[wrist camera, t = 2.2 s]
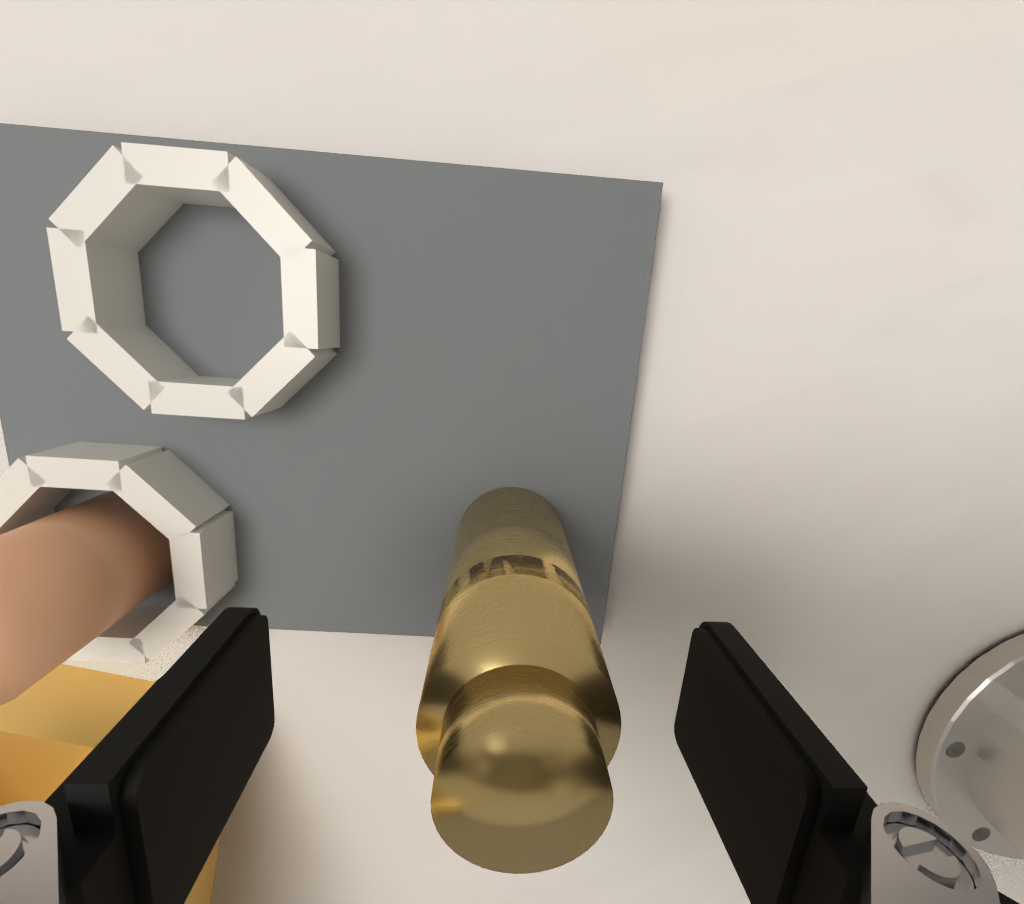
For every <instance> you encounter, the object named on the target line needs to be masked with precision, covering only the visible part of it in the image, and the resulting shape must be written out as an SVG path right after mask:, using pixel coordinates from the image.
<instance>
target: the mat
mask: <svg viewBox="0 0 1024 904" xmlns="http://www.w3.org/2000/svg"><path fill="white" fill-rule="evenodd" d="M121 142H126V143H137V144H149V145H160V146H171V147H182V148H194V149H205V150H216V151H227V152H229V153H230V154H232V155H233V156H235V157H236V156H237V157H238V158H240V159H241V160H243V161H244V162H246V163H247V164H248V165H250V166H251V167H253V168H254V169H256V170H257V171H259V172H260V173H262V174H263V175H265V176H266V177H268V178H269V179H271V180H272V181H273V183H274V184H275V185H276V186H277V187H278V188H279V189H280V190H281V192H282V193H283V194H284V195H285V196H286V197H287V198H288V199H289V200H290V202H291V203H292V204H293V205H294V206H295V207H296V208H297V209H298V211H299V212H300V213H301V214H302V215H303V216H304V217H305V218H306V219H307V221H308V222H309V223H310V224H311V225H312V226H313V227H314V228H315V230H316V231H317V232H318V233H319V234H320V235H321V236H322V237H323V239H324V240H325V241H326V242H327V243H328V244H329V245H330V246H331V247H332V249H333V250H334V251H335V253H334V254H333V255H332V256H331V257H334V258H336V259H338V260H339V310H340V347H339V348H332V349H333V350H334V351H335V352H336V353H337V355H336V356H335V357H334V358H333V359H332V360H330V361H329V362H328V363H327V364H326V365H325V366H324V367H323V368H322V369H321V370H320V371H319V372H318V373H317V374H316V375H315V376H314V377H313V378H312V379H310V380H309V381H308V382H307V383H306V384H305V385H304V386H303V387H302V388H301V389H300V390H299V391H298V392H297V393H296V394H295V395H294V396H293V397H292V398H290V399H289V400H288V401H287V402H286V403H285V404H284V405H283V406H282V407H281V408H278V409H275V410H272V411H269V412H266V413H263V414H260V415H257V416H254V417H251V418H248V419H245V420H243V419H227V418H212V417H197V416H182V415H167V414H152V412H151V409H146V410H143V409H142V408H141V407H140V406H139V405H138V404H137V403H136V402H135V401H133V400H132V399H131V398H130V397H129V396H128V395H127V394H126V393H125V392H124V391H123V390H121V389H120V388H119V387H118V386H117V385H116V384H115V383H114V382H113V381H112V380H111V379H110V378H108V377H107V376H106V375H105V374H104V373H103V372H102V371H101V370H100V369H99V368H98V367H97V366H95V365H94V364H93V363H92V362H91V361H90V360H89V359H88V358H87V357H86V356H85V355H84V354H82V353H81V352H80V351H79V350H78V349H77V348H76V347H75V346H74V345H73V344H72V343H71V342H69V341H68V340H67V338H68V337H69V336H70V335H71V334H72V333H73V332H72V331H62V326H61V320H60V313H59V307H58V300H57V294H56V287H55V281H54V274H53V268H52V261H51V255H50V248H49V242H48V235H47V229H46V227H48V228H57V227H56V226H55V225H54V224H53V223H52V222H51V221H50V220H49V218H50V216H51V215H52V214H53V213H54V212H55V211H56V210H57V208H58V207H59V206H60V205H61V204H62V203H63V202H64V200H65V199H66V198H67V197H68V196H69V195H70V194H71V192H72V191H73V190H74V189H75V188H76V187H77V185H78V184H79V183H80V182H81V181H82V180H83V179H84V177H85V176H86V175H87V174H88V173H89V172H90V171H91V169H92V168H93V167H94V166H95V165H96V164H97V163H98V161H99V160H100V159H101V158H102V157H103V156H104V155H105V153H106V152H107V151H108V150H109V149H110V148H111V146H112V145H113V146H115V147H117V148H119V149H122V148H121ZM662 187H663V183H661V182H650V181H639V180H628V179H616V178H605V177H594V176H583V175H572V174H561V173H549V172H538V171H527V170H516V169H505V168H494V167H483V166H471V165H460V164H449V163H438V162H427V161H416V160H404V159H393V158H382V157H371V156H360V155H349V154H338V153H326V152H315V151H304V150H293V149H282V148H271V147H260V146H248V145H237V144H226V143H215V142H204V141H193V140H181V139H170V138H159V137H148V136H137V135H126V134H115V133H103V132H92V131H81V130H70V129H59V128H48V127H36V126H25V125H14V124H3V123H0V419H1V424H2V430H3V435H4V440H5V445H6V450H7V456H8V461H9V466H11V465H12V464H13V463H14V462H15V461H16V460H17V459H18V458H20V457H24V456H26V455H29V454H33V453H37V452H41V451H45V450H49V449H53V448H57V447H61V446H64V445H68V444H72V443H76V442H80V441H84V442H99V443H115V444H131V445H147V446H162V449H163V451H166V450H170V451H171V452H172V453H174V454H175V455H176V456H177V457H178V458H179V459H180V460H181V461H182V462H183V463H185V464H186V465H187V466H188V467H189V468H190V469H191V470H192V471H193V472H194V473H195V474H197V475H198V476H199V477H200V478H201V479H202V480H203V481H204V482H205V483H206V484H207V485H209V486H210V487H211V488H212V489H213V490H214V491H215V492H216V493H217V494H218V495H220V496H221V497H222V498H223V499H224V500H225V501H226V502H227V503H228V504H229V506H228V507H227V508H226V509H225V511H233V518H234V531H235V544H236V558H237V571H238V580H237V581H236V582H235V584H236V585H235V586H234V587H233V588H232V589H231V590H230V591H229V592H228V593H227V594H226V595H225V596H224V597H222V598H221V599H220V600H219V601H218V602H217V603H216V604H215V605H214V606H213V607H212V608H211V609H210V610H209V611H208V612H207V613H206V614H205V615H204V616H202V617H201V618H200V619H199V620H198V621H197V622H196V623H195V624H193V625H200V626H210V624H211V623H212V622H213V621H214V620H215V619H216V618H217V617H218V616H219V615H220V614H221V612H222V611H223V610H225V609H226V608H227V607H249V608H257V609H259V611H260V615H265V616H267V618H268V626H269V629H284V630H305V631H326V632H347V633H368V634H390V635H411V636H432V637H435V632H436V628H437V623H438V618H439V614H440V609H441V605H442V600H443V596H444V591H445V587H446V582H447V578H448V573H449V568H450V564H451V559H452V555H453V550H454V546H455V541H456V537H457V532H458V528H459V524H460V520H461V518H462V516H463V514H464V512H465V511H466V509H467V508H468V506H469V505H470V504H471V503H472V502H473V501H474V500H475V499H477V498H478V497H479V496H481V495H483V494H484V493H486V492H488V491H491V490H494V489H497V488H503V487H519V488H524V489H528V490H531V491H533V492H535V493H537V494H539V495H541V496H542V497H543V498H545V499H546V500H547V501H548V502H549V503H550V504H551V505H552V506H553V507H554V509H555V510H556V512H557V514H558V516H559V518H560V520H561V524H562V527H563V530H564V533H565V536H566V539H567V543H568V546H569V549H570V552H571V555H572V559H573V562H574V565H575V568H576V571H577V574H578V578H579V581H580V584H581V587H582V590H583V593H584V597H585V600H586V603H587V606H588V609H589V613H590V616H591V619H592V622H593V625H594V628H595V632H596V635H597V638H598V641H599V644H600V645H601V637H602V630H603V623H604V615H605V608H606V601H607V593H608V586H609V578H610V571H611V564H612V556H613V549H614V542H615V534H616V527H617V519H618V512H619V505H620V497H621V490H622V483H623V475H624V468H625V460H626V453H627V446H628V438H629V431H630V423H631V416H632V409H633V401H634V394H635V387H636V379H637V372H638V364H639V357H640V350H641V342H642V335H643V328H644V320H645V313H646V305H647V298H648V291H649V283H650V276H651V269H652V261H653V254H654V246H655V239H656V232H657V224H658V217H659V209H660V202H661V195H662ZM138 259H139V268H140V277H141V286H142V295H143V304H144V313H145V322H146V325H147V326H148V327H149V328H150V329H151V330H152V331H153V332H154V333H155V334H156V335H157V336H158V337H159V338H160V339H161V340H162V341H163V342H164V343H165V344H166V345H167V346H168V347H169V348H170V349H171V350H173V351H174V352H175V353H176V354H177V355H178V356H179V357H180V358H181V359H182V360H183V361H184V362H185V363H186V364H187V365H188V366H189V367H190V368H191V369H192V370H193V371H194V372H195V373H196V374H197V375H198V376H210V377H224V378H239V379H242V378H243V377H244V376H245V375H246V374H247V373H248V372H249V371H250V370H251V369H252V368H253V367H254V366H255V365H256V364H257V363H258V362H259V361H260V360H261V359H262V358H263V357H264V356H265V355H266V354H267V353H268V352H269V351H270V350H271V349H272V348H273V347H274V346H275V345H276V344H277V343H278V342H279V341H280V340H281V339H282V338H283V337H284V330H283V307H282V284H281V261H280V256H279V255H278V254H277V253H276V252H275V251H274V249H273V248H272V247H271V246H270V245H269V244H268V243H267V242H266V241H265V240H264V239H263V238H262V236H261V235H260V234H259V233H258V232H257V231H256V230H255V229H254V228H253V227H252V226H251V225H250V224H249V222H248V221H247V220H246V219H245V218H244V217H243V216H242V215H241V214H240V213H239V212H238V211H237V209H236V208H231V207H219V206H207V205H195V204H184V203H183V205H182V206H181V207H180V208H179V209H178V210H177V211H176V212H175V213H174V214H173V215H172V217H171V218H170V219H169V220H168V221H167V222H166V223H165V224H164V225H163V226H162V227H161V228H160V230H159V231H158V232H157V233H156V234H155V235H154V236H153V237H152V238H151V239H150V240H149V241H148V243H147V244H146V245H145V246H144V247H143V248H142V249H141V250H140V251H139V252H138ZM105 492H109V491H107V490H90V489H73V490H72V491H71V492H70V493H69V494H68V495H67V496H66V497H65V498H64V499H63V500H62V501H61V502H60V503H59V504H58V505H57V506H56V507H55V508H54V509H55V513H56V512H58V511H61V510H63V509H66V508H68V507H71V506H73V505H76V504H78V503H81V502H83V501H86V500H88V499H91V498H93V497H96V496H98V495H100V494H103V493H105ZM175 600H176V597H175V588H174V579H173V580H172V581H171V582H169V583H168V584H167V585H165V586H164V587H163V588H161V589H160V590H159V591H157V592H156V593H155V594H153V595H152V596H151V597H149V598H148V599H147V600H145V601H144V602H143V603H141V604H140V605H159V606H170V605H171V604H172V603H173V602H174V601H175Z"/></svg>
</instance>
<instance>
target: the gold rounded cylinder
mask: <svg viewBox="0 0 1024 904" xmlns="http://www.w3.org/2000/svg"><path fill="white" fill-rule="evenodd" d="M620 732H621V716H620V710H619V706H618V702H617V698H616V695H615V692H614V689H613V686H612V682H611V679H610V676H609V673H608V670H607V667H606V663H605V660H604V657H603V654H602V651H601V648H600V644H599V641H598V638H597V635H596V632H595V628H594V625H593V622H592V619H591V616H590V613H589V609H588V606H587V603H586V600H585V597H584V593H583V590H582V587H581V584H580V581H579V578H578V574H577V571H576V568H575V565H574V562H573V559H572V555H571V552H570V549H569V546H568V543H567V539H566V536H565V533H564V530H563V527H562V524H561V520H560V518H559V516H558V514H557V512H556V510H555V509H554V507H553V506H552V505H551V504H550V503H549V502H548V501H547V500H546V499H545V498H543V497H542V496H541V495H539V494H537V493H535V492H533V491H531V490H528V489H524V488H519V487H503V488H497V489H494V490H491V491H488V492H486V493H484V494H483V495H481V496H479V497H478V498H477V499H475V500H474V501H473V502H472V503H471V504H470V505H469V506H468V508H467V509H466V511H465V512H464V514H463V516H462V518H461V520H460V524H459V528H458V532H457V537H456V541H455V546H454V550H453V555H452V559H451V564H450V568H449V573H448V578H447V582H446V587H445V591H444V596H443V600H442V605H441V609H440V614H439V618H438V623H437V628H436V632H435V637H434V641H433V646H432V650H431V655H430V659H429V664H428V668H427V673H426V678H425V682H424V687H423V691H422V696H421V700H420V705H419V709H418V714H417V722H416V735H417V741H418V746H419V750H420V752H421V755H422V757H423V760H424V761H425V763H426V765H427V767H428V768H429V770H430V771H431V772H432V774H433V775H434V782H433V788H432V796H431V813H432V818H433V822H434V824H435V827H436V829H437V831H438V833H439V834H440V836H441V838H442V839H443V840H444V841H445V843H446V844H447V845H448V846H449V847H450V848H451V849H452V850H453V851H454V852H455V853H457V854H458V855H459V856H461V857H462V858H464V859H465V860H467V861H469V862H471V863H473V864H475V865H478V866H480V867H482V868H486V869H489V870H493V871H498V872H503V873H514V874H522V873H535V872H541V871H545V870H550V869H553V868H556V867H559V866H562V865H564V864H566V863H568V862H570V861H572V860H574V859H576V858H577V857H579V856H580V855H582V854H583V853H584V852H586V851H587V850H588V849H589V848H590V847H591V846H592V845H594V844H595V843H596V841H597V840H598V839H599V838H600V836H601V835H602V834H603V832H604V830H605V829H606V827H607V825H608V822H609V820H610V817H611V813H612V809H613V790H612V786H611V782H610V777H609V773H608V769H607V766H608V765H609V763H610V761H611V760H612V758H613V756H614V754H615V751H616V749H617V746H618V742H619V738H620Z"/></svg>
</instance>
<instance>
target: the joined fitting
mask: <svg viewBox="0 0 1024 904" xmlns="http://www.w3.org/2000/svg"><path fill="white" fill-rule="evenodd" d="M73 489H90V490H107V491H109V492H105V493H103V494H100V495H98V496H96V497H93V498H91V499H88V500H86V501H83V502H81V503H78V504H76V505H73V506H71V507H68V508H66V509H63V510H61V511H58V512H56V513H55V509H54V508H55V507H56V506H57V505H58V504H59V503H60V502H61V501H62V500H63V499H64V498H65V497H66V496H67V495H68V494H69V493H70V492H71V491H72V490H73ZM228 506H229V504H228V503H227V502H226V501H225V500H224V499H223V498H222V497H221V496H220V495H218V494H217V493H216V492H215V491H214V490H213V489H212V488H211V487H210V486H209V485H207V484H206V483H205V482H204V481H203V480H202V479H201V478H200V477H199V476H198V475H197V474H195V473H194V472H193V471H192V470H191V469H190V468H189V467H188V466H187V465H186V464H185V463H183V462H182V461H181V460H180V459H179V458H178V457H177V456H176V455H175V454H174V453H172V452H171V451H170V450H166V451H163V449H162V446H147V445H131V444H115V443H99V442H84V441H80V442H76V443H72V444H68V445H64V446H61V447H57V448H53V449H49V450H45V451H41V452H37V453H33V454H29V455H26V456H24V457H20V458H18V459H17V460H16V461H15V462H14V463H13V464H12V465H11V466H10V467H9V468H8V469H7V470H6V471H5V472H4V473H3V475H2V476H1V477H0V705H3V704H6V703H8V702H10V701H12V700H13V699H15V698H17V697H18V696H19V695H21V694H22V693H23V692H25V691H26V690H27V689H29V688H30V687H31V686H33V685H34V684H35V683H37V682H38V681H39V680H41V679H42V678H43V677H45V676H46V675H47V674H49V673H50V672H51V671H53V670H54V669H55V668H56V667H58V666H59V665H60V664H62V663H63V662H64V661H66V660H73V661H96V662H119V663H142V664H145V663H146V662H148V661H149V660H150V661H151V662H152V661H153V660H154V659H155V658H156V657H157V656H159V655H160V654H161V653H162V652H163V651H164V650H165V649H166V648H168V647H169V646H170V645H171V644H172V643H173V642H174V641H175V640H177V639H178V638H179V637H180V636H181V635H182V634H183V633H184V632H186V631H187V630H188V629H189V628H190V627H191V626H192V625H193V624H195V623H196V622H197V621H198V620H199V619H200V618H201V617H202V616H204V615H205V614H206V613H207V612H208V611H209V610H210V609H211V608H212V607H213V606H214V605H215V604H216V603H217V602H218V601H219V600H220V599H221V598H222V597H224V596H225V595H226V594H227V593H228V592H229V591H230V590H231V589H232V588H233V587H234V586H235V585H236V584H235V582H236V581H237V580H238V571H237V558H236V544H235V531H234V518H233V511H225V509H226V508H227V507H228ZM173 579H174V588H175V597H176V600H175V601H174V602H173V603H172V604H171V605H170V606H159V605H140V604H141V603H143V602H144V601H145V600H147V599H148V598H149V597H151V596H152V595H153V594H155V593H156V592H157V591H159V590H160V589H161V588H163V587H164V586H165V585H167V584H168V583H169V582H171V581H172V580H173Z"/></svg>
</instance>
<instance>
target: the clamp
mask: <svg viewBox="0 0 1024 904" xmlns="http://www.w3.org/2000/svg"><path fill="white" fill-rule="evenodd" d="M154 683H155V682H152V681H147V680H142V679H137V678H132V677H126V676H121V675H116V674H111V673H105V672H100V671H95V670H90V669H85V668H79V667H74V666H69V665H64V664H60V665H59V666H58V667H56V668H55V669H54V670H53V671H51V672H50V673H49V674H47V675H46V676H45V677H43V678H42V679H41V680H39V681H38V682H37V683H35V684H34V685H33V686H31V687H30V688H29V689H27V690H26V691H25V692H23V693H22V694H21V695H19V696H18V697H17V698H15V699H13V700H12V701H10V702H8V703H6V704H3V705H0V806H3V805H6V804H9V803H15V802H21V801H26V800H30V801H42V802H45V801H46V800H47V799H48V798H49V796H50V795H51V794H52V793H53V792H54V791H55V790H56V789H57V788H58V787H59V786H60V785H61V783H62V782H63V781H64V780H65V779H66V778H67V777H68V776H69V775H70V774H71V773H72V772H73V771H74V769H75V768H76V767H77V766H78V765H79V764H80V763H81V762H82V761H83V760H84V759H85V758H86V756H87V755H88V754H89V753H90V752H91V751H92V750H93V749H94V748H95V747H96V746H97V745H98V744H99V742H100V741H101V740H102V739H103V738H104V737H105V736H106V735H107V734H108V733H109V732H110V731H111V729H112V728H113V727H114V726H115V725H116V724H117V723H118V722H119V721H120V720H121V719H122V718H123V717H124V715H125V714H126V713H127V712H128V711H129V710H130V709H131V708H132V707H133V706H134V705H135V704H136V703H137V701H138V700H139V699H140V698H141V697H142V696H143V695H144V694H145V693H146V692H147V691H148V690H149V688H150V687H151V686H152V685H153V684H154ZM220 837H221V834H220V836H219V838H218V840H217V841H216V843H215V845H214V847H213V849H212V851H211V853H210V855H209V857H208V859H207V861H206V863H205V865H204V866H203V868H202V870H201V872H200V874H199V876H198V878H197V880H196V882H195V884H194V886H193V888H192V889H191V891H190V893H189V895H188V897H187V899H186V901H185V903H184V904H211V898H212V892H213V885H214V878H215V871H216V864H217V858H218V851H219V844H220Z"/></svg>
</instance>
